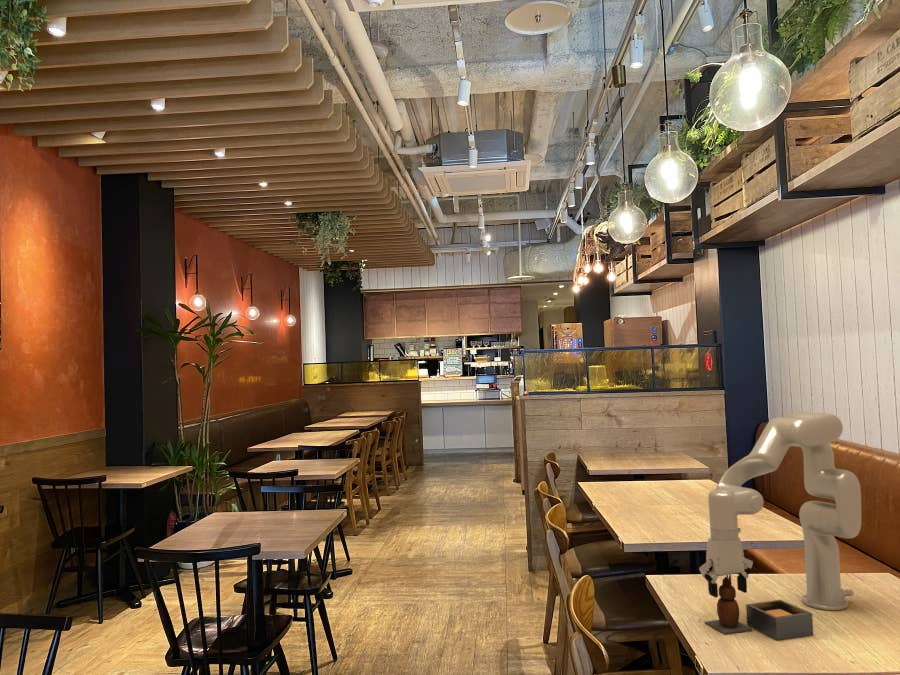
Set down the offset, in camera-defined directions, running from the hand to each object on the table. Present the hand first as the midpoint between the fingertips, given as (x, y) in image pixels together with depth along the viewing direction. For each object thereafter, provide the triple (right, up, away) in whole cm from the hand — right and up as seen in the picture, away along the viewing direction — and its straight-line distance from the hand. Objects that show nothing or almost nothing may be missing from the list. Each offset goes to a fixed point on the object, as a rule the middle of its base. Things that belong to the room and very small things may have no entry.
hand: (728, 593), depth 198 cm
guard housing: (+13, -9, -4) cm, 16 cm away
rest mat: (0, -9, -1) cm, 9 cm away
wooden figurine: (0, -9, -1) cm, 9 cm away
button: (+13, -6, -4) cm, 15 cm away
